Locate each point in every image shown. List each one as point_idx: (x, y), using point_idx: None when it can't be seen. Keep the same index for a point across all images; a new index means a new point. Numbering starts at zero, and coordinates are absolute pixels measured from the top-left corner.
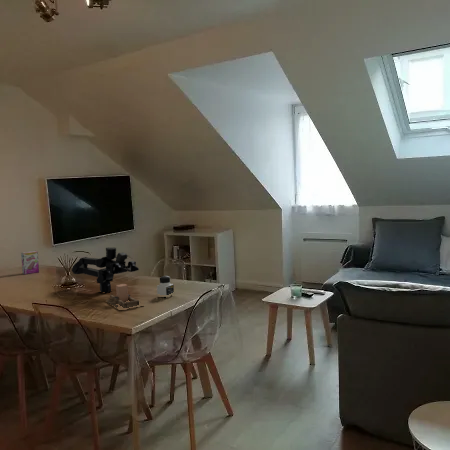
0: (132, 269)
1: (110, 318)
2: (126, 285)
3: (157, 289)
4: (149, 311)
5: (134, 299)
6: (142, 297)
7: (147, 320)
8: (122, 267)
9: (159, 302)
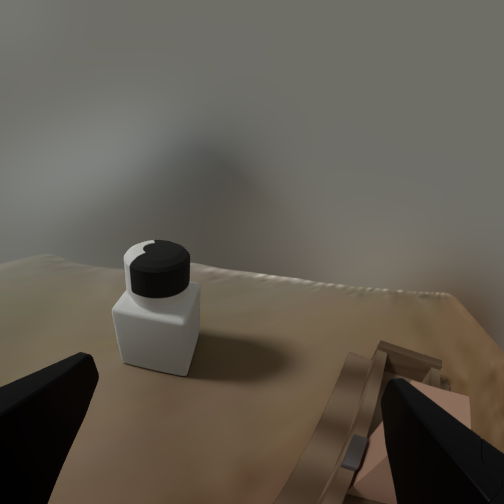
0: (21, 497)
1: (482, 360)
2: (417, 383)
3: (187, 339)
4: (370, 317)
5: (375, 376)
6: (214, 452)
7: (411, 292)
8: (468, 462)
9: (266, 336)
